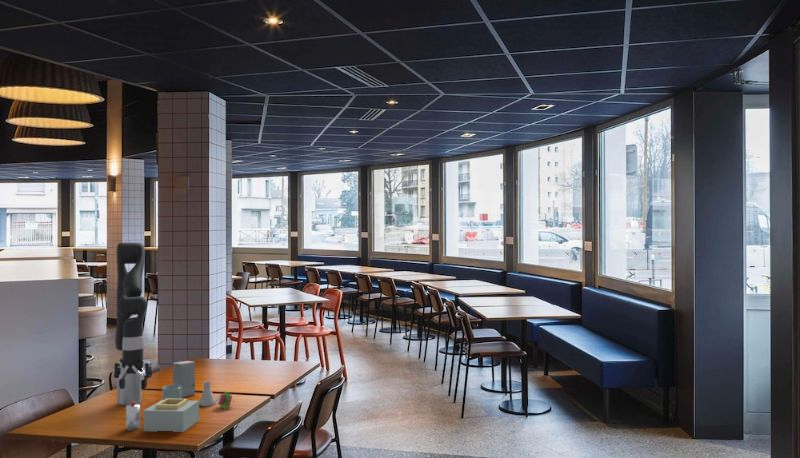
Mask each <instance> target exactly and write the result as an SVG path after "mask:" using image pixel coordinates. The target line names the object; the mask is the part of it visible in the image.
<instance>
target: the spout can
mask: <svg viewBox="0 0 800 458" xmlns="http://www.w3.org/2000/svg"><path fill="white" fill-rule="evenodd" d="M138 428H139V429H140V428H141V403H138V404H135V401H131V404H129V405H125V430H126V429H127V430H126V431H136V430H135V429H137V430H139V429H138Z"/></svg>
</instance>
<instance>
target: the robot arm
mask: <svg viewBox="0 0 800 458" xmlns="http://www.w3.org/2000/svg"><path fill="white" fill-rule="evenodd" d="M145 256H146V248H145V245H144V243H142V242H119V243H118V244H117V246H116V274H117V281H116V282H117V283H116V286H117V287H116V325H115V327H116V328H115V337H114V339H115V348H116V350H118V351H122V352H121V354H122V355H121V356H122V357H121V358H120V359H119V361H117V362H115V363H114V367H113V368H114V370H113V378H115V379H118V382H116V403H117V404H116V405H120V406H127V405H129V404H131V401H135V404H141V403H142V397H143V396H142V394H143V393H142V392H143V390H145V389H146V388H147V387H148V379H149V378H151V377H153V374H152V373H153V372H152V371H153V370H152V362H151V361H148V362H144V337H143V336H144V335H143V325H144V324H143V323H144V318H145V315H146V312H147V308H148V301H147V299H146V297H144V296H142V293H143V283H142V282H143V274H144V268H145ZM130 264H131V265H134V266H133V267H132V268H131V269H130V270H129V271H128V270H127V267H126V265H130ZM134 315H137V316H136V317H135V318H134V319H131V320H130V318H131V317H132V316H134ZM143 367H144V368H143Z"/></svg>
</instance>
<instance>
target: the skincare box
mask: <svg viewBox="0 0 800 458" xmlns="http://www.w3.org/2000/svg"><path fill="white" fill-rule="evenodd" d="M195 365H196V362H195V361H192V360H191V361H190V360H184V361H177V362H173V363H172V385H181V399H184V398H186V397H190V396H195V395H196V366H195Z"/></svg>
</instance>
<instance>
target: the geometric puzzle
mask: <svg viewBox="0 0 800 458" xmlns="http://www.w3.org/2000/svg"><path fill="white" fill-rule="evenodd" d="M232 399H234V398H233V396H232V392H227V391H223V393H221V394H218V395H217V396H216V399H215V401H216V404H218V406H219V408H222V409H228V407H230V406H231V404H232V402H233V403H234V400H232Z"/></svg>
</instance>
